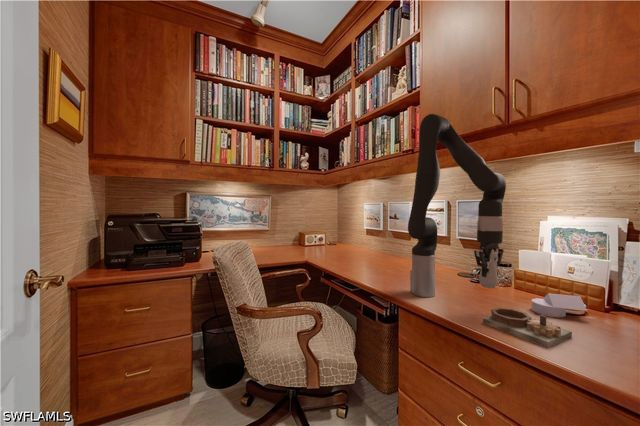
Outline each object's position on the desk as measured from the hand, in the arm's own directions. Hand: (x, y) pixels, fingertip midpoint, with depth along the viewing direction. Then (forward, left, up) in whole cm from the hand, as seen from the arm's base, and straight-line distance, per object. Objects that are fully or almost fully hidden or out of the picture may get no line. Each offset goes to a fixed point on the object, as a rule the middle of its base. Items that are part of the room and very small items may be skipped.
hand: (488, 277), depth 91 cm
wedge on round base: (+11, +20, -13) cm, 26 cm away
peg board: (+13, -4, -12) cm, 18 cm away
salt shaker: (0, 0, -3) cm, 3 cm away
